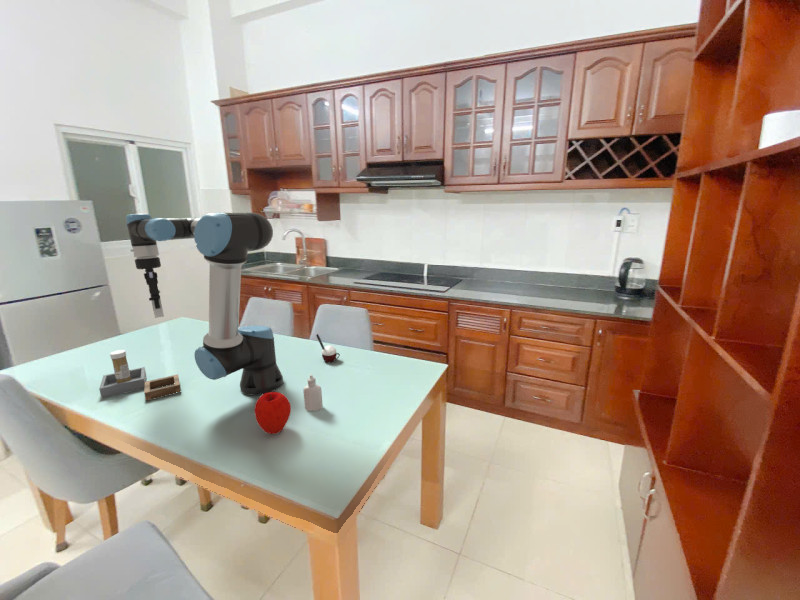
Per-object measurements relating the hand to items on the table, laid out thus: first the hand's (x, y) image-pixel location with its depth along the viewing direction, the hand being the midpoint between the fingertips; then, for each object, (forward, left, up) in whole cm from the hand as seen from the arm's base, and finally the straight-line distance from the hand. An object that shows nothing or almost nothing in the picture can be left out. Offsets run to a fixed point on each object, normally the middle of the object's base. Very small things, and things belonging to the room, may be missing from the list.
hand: (158, 313), depth 134 cm
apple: (-60, -24, -27) cm, 70 cm away
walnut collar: (-10, +3, -27) cm, 29 cm away
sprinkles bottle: (+3, +15, -26) cm, 30 cm away
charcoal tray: (+3, +15, -27) cm, 31 cm away
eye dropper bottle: (-55, -38, -27) cm, 72 cm away
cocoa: (-21, -58, -27) cm, 68 cm away
